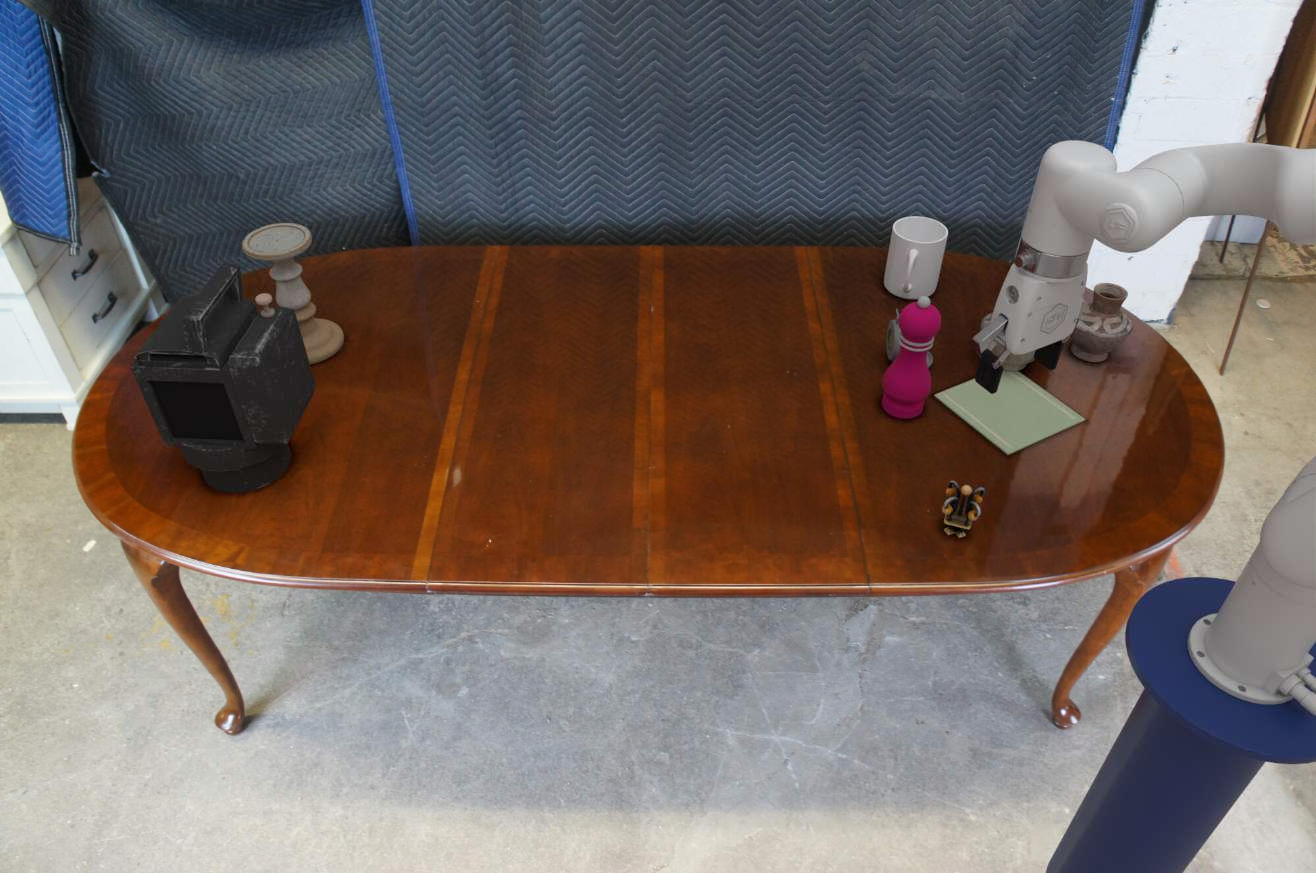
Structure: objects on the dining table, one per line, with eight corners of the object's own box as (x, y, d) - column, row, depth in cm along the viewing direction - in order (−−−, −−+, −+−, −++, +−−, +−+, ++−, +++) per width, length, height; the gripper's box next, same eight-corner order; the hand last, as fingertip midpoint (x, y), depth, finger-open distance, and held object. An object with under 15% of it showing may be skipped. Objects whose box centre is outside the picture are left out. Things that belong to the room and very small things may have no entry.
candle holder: (353, 324, 170) (327, 219, 156) (333, 367, 160) (304, 259, 147) (282, 324, 170) (250, 218, 156) (258, 366, 160) (222, 258, 147)
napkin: (1085, 420, 150) (1085, 419, 150) (1007, 455, 144) (1008, 453, 144) (1008, 366, 160) (1009, 364, 160) (933, 396, 154) (934, 394, 154)
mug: (932, 274, 182) (944, 217, 174) (940, 310, 173) (953, 252, 165) (881, 272, 182) (890, 215, 175) (885, 307, 173) (896, 249, 166)
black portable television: (217, 428, 149) (150, 253, 129) (333, 432, 148) (284, 258, 128) (174, 497, 137) (94, 318, 118) (299, 503, 137) (240, 323, 117)
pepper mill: (874, 415, 151) (895, 305, 138) (882, 388, 156) (902, 279, 143) (922, 425, 149) (948, 315, 136) (928, 397, 154) (953, 288, 141)
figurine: (930, 535, 132) (948, 493, 126) (936, 511, 135) (953, 469, 130) (966, 547, 131) (985, 504, 125) (971, 522, 134) (990, 480, 129)
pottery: (1134, 369, 160) (1159, 306, 152) (991, 385, 156) (1009, 321, 148) (1097, 331, 168) (1119, 269, 161) (961, 345, 164) (976, 283, 157)
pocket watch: (940, 365, 161) (952, 314, 154) (901, 382, 157) (912, 330, 151) (905, 341, 166) (915, 290, 159) (867, 356, 162) (876, 305, 156)
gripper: (1018, 290, 104) (983, 414, 116) (1132, 250, 111) (1088, 371, 122) (969, 258, 109) (940, 379, 121) (1081, 221, 116) (1043, 340, 127)
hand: (1015, 375), depth 121 cm, fingers open, 9 cm apart
